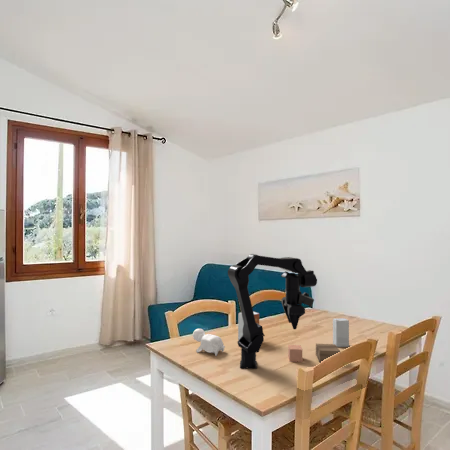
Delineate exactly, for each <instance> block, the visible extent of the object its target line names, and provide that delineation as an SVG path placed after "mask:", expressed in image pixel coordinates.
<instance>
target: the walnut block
mask: <svg viewBox="0 0 450 450" xmlns="http://www.w3.org/2000/svg"><path fill="white" fill-rule="evenodd" d="M338 352H340V353H341V350H340V349H339V347H337V346H336V345H335V344H333V343H315V357H316V358H317V360H318V362H319V363H320V362H321V361H323V360H324V359H326V358H328V357H330V356H332V355H334V354H336V353H338Z"/></svg>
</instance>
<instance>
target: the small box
mask: <svg viewBox="0 0 450 450" xmlns="http://www.w3.org/2000/svg"><path fill="white" fill-rule="evenodd" d="M253 313H254V317H255V321H256V323H257V324H259V325H260V313H259V312H256V311H253ZM237 318H238V320H237V321H238V322H237V323H238V324H237V326H238V327H237V341H238V340H239V339H240V338H241V337H242V336H243V325H244V322H243V318H242V313H241V312H238V317H237Z"/></svg>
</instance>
